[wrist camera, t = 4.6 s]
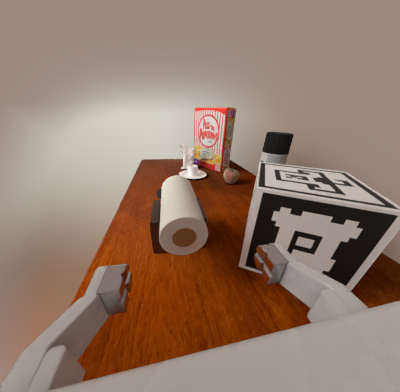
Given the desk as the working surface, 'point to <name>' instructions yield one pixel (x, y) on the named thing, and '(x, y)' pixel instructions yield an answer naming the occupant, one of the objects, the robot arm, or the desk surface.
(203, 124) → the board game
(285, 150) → the spray can
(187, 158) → the koala figurine
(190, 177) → the candle holder
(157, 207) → the cradle
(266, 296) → the desk surface
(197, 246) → the paper towel roll
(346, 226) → the block
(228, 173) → the apple
